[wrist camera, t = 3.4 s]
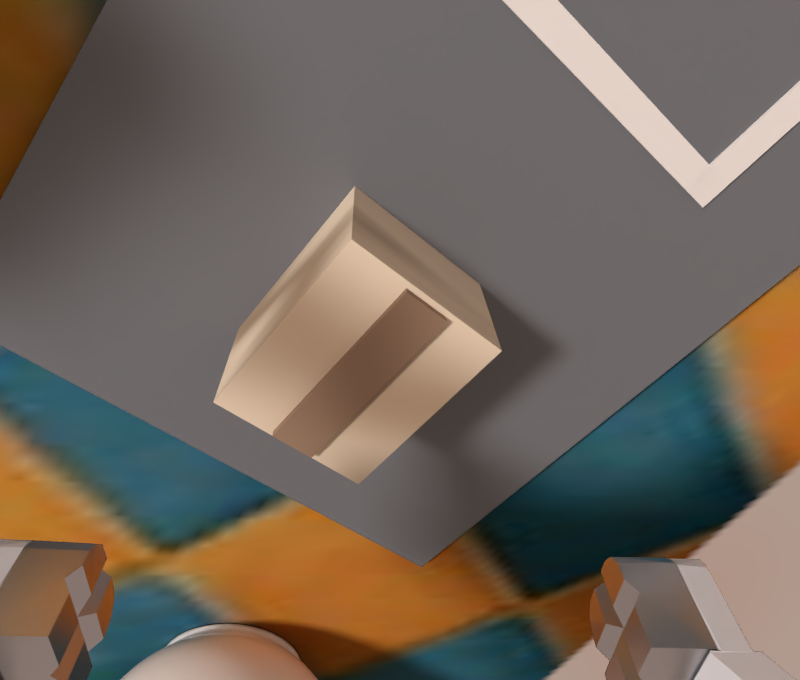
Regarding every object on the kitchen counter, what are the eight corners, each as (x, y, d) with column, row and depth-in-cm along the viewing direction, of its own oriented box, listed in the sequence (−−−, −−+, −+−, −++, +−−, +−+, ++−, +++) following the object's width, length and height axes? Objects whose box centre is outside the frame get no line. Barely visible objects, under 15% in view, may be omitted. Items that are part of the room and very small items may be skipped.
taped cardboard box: (360, 404, 20) (358, 489, 17) (238, 329, 18) (211, 407, 15) (479, 284, 18) (503, 355, 15) (354, 185, 16) (351, 243, 13)
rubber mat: (420, 558, 25) (421, 569, 24) (-52, 306, 18) (-63, 315, 18) (1200, -71, 14) (1225, -72, 14) (764, -1214, 8) (788, -1282, 7)
